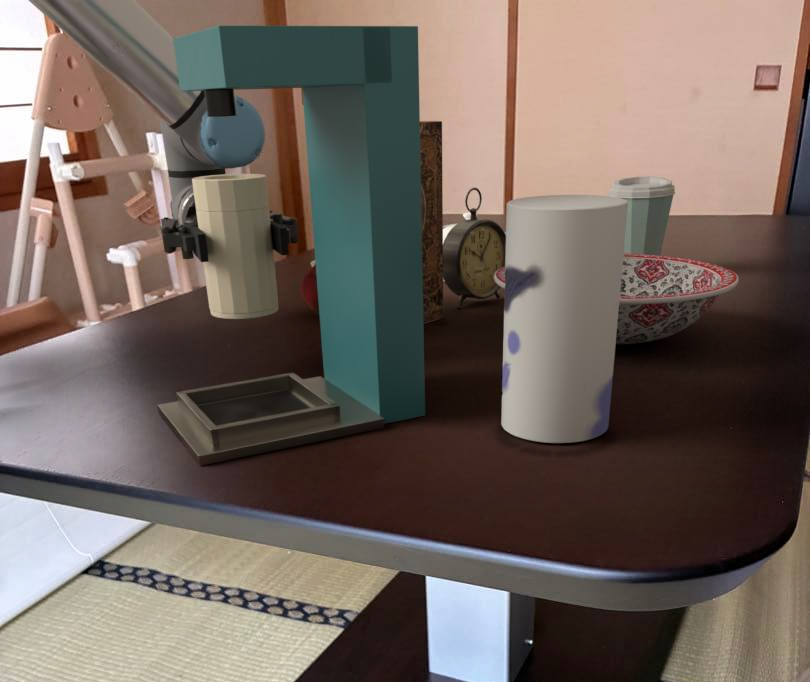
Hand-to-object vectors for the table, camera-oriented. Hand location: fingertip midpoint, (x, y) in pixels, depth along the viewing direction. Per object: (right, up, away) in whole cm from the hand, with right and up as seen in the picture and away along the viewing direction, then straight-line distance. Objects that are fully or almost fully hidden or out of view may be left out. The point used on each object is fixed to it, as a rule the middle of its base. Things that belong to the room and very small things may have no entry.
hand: (244, 244), depth 87 cm
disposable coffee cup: (+56, +14, +55) cm, 80 cm away
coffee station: (+5, -18, -3) cm, 19 cm away
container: (+31, -20, -7) cm, 38 cm away
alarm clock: (+27, +5, +40) cm, 48 cm away
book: (+15, -1, +29) cm, 33 cm away
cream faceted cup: (-1, -5, +8) cm, 9 cm away
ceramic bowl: (+43, -5, +20) cm, 47 cm away
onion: (+5, +2, +36) cm, 36 cm away
